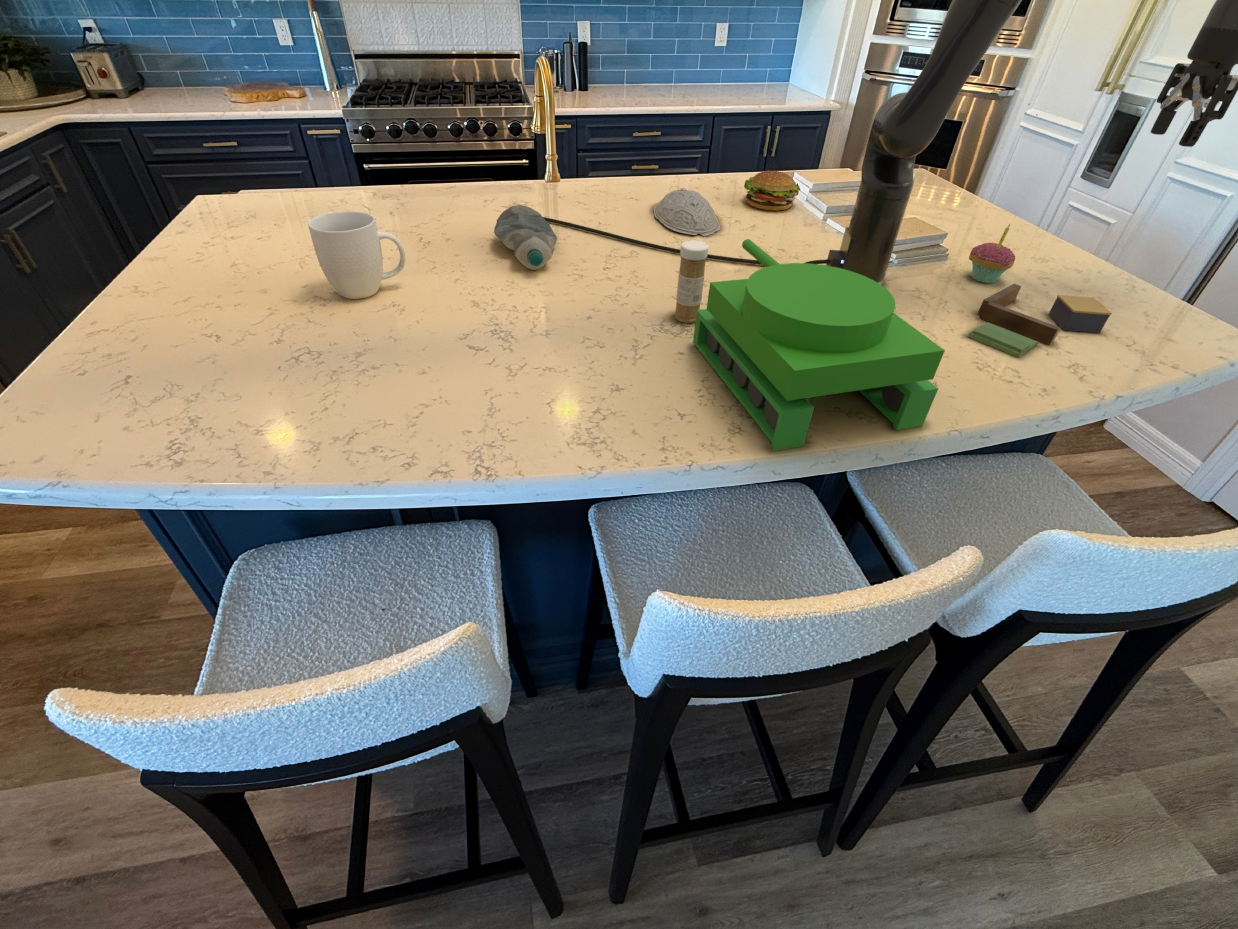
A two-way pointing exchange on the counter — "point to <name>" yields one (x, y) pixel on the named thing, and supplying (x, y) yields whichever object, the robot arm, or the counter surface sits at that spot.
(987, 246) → the cupcake
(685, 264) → the sprinkles bottle
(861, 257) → the robot arm
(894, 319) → the tank
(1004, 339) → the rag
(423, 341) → the counter surface
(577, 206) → the counter surface
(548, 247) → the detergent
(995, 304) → the corner guide
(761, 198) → the food
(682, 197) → the grey turtle shell
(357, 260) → the mug
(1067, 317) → the tea tin
